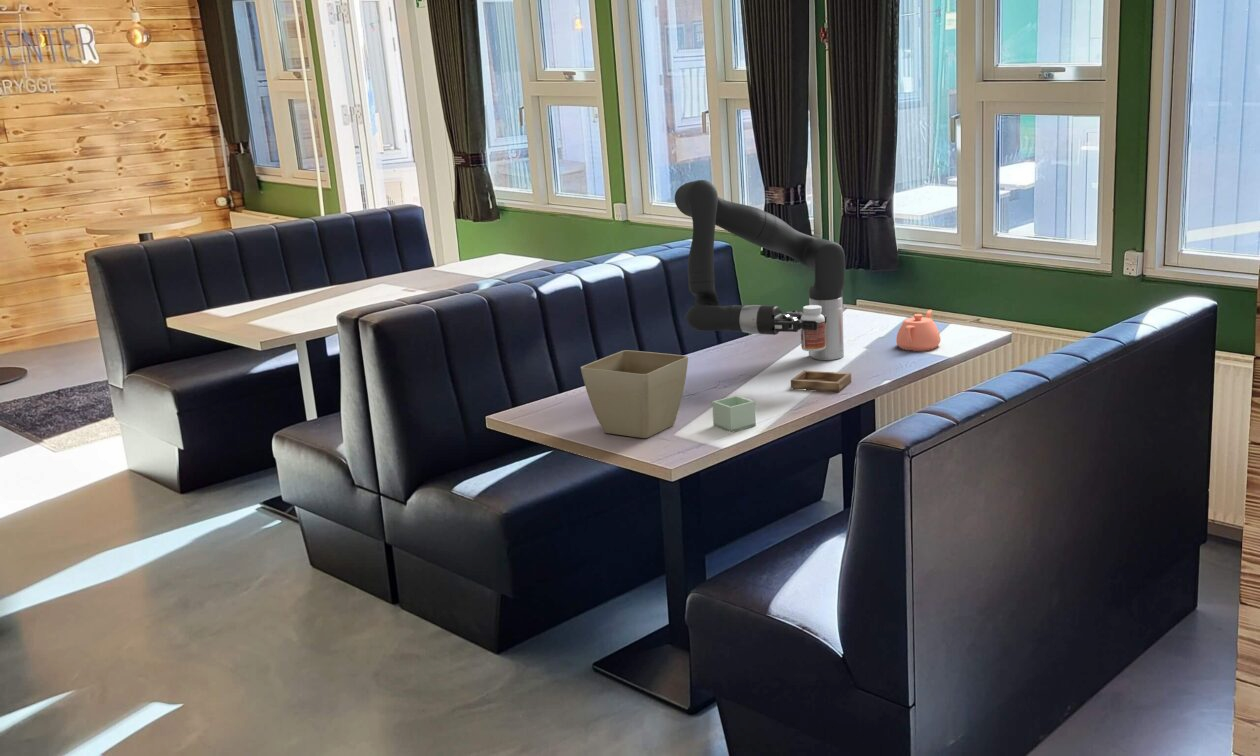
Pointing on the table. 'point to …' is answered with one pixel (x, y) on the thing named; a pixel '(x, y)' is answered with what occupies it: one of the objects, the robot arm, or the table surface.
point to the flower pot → (636, 391)
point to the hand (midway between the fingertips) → (821, 322)
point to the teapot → (918, 333)
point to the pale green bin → (734, 413)
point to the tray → (821, 381)
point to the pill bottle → (813, 338)
